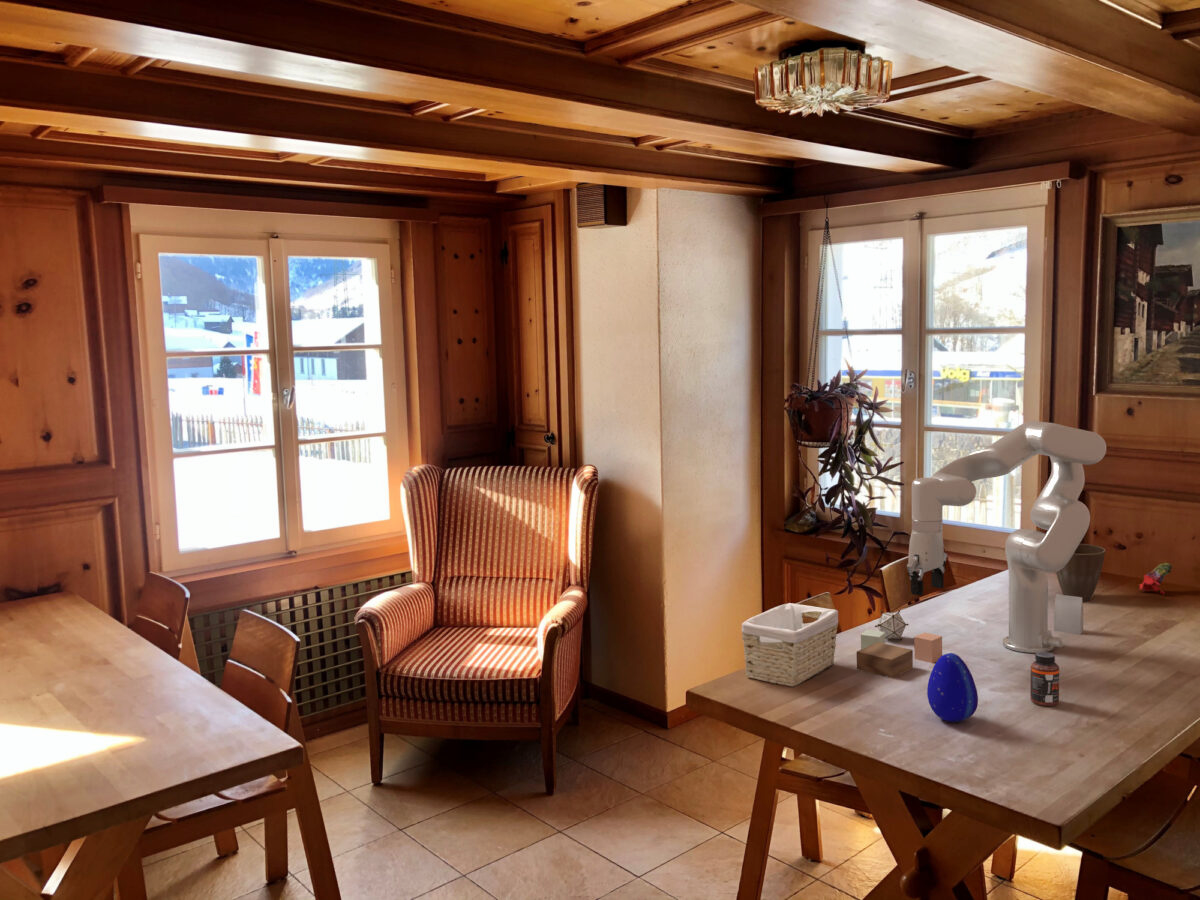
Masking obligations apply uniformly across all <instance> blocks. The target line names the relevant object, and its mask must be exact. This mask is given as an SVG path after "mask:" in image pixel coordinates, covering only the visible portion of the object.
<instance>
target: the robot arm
mask: <svg viewBox="0 0 1200 900" xmlns="http://www.w3.org/2000/svg"><path fill="white" fill-rule="evenodd" d="M1106 453H1107V444H1106V441H1105V439H1104V438H1103V436H1101V435H1100V434H1098V433H1097V432H1095V431H1090V430H1085V429H1080V428H1076V427H1072V426H1071V427H1070V426H1067V425H1063V424H1059V423H1054V422H1048V421H1046V422H1045V421H1036V420H1029V421H1026V422H1023V423H1021V424H1020V425H1018V426H1017V427H1015V428H1014V429H1012V430H1011V431H1009V432H1008V433H1006V434H1005V435H1004V436H1001V437H1000V438H999V439H998V440H996V441H995V442H992V444H990V445H989V446H987V447H985V448H981V449H979V450H976V451H974V452H972V453H970V454H967V455H964V456H961V457H959V458H957V459H954V460H953V461H950V462H949V463H947V464H945V465H944V466H943V467H941V468H940V469H938V470H937V471H936V472H935V473H933V474H932V475H931V476H930V477H918V478H915V479H913V481H912V483H911V532H910V533H911V534H910V537H909V543H908V544H909V546H908V563H907V565H906V569H907V574H908V576H909V580H910V593H911V595H914V596H920V597H921V596H923V595H924V580H922V579H923V577H924V574H925V573H926V572H930V571H931V574H930V575H931V576H930V577H931V582H930V583H931V584H930V585H931V587H932V588H937V589H943V588H944V584H945V583H944V573H945V568H946V565H947V564H946V563H947V562H946V561H947V557H948V554H947V553H946V552H945V548H944V547H945V545H944V538H943V537H944V536H943V530H944V529H943V526H944V525H943V524H944V523H943V512H944V511H943V508H944V507H943V506H946V507H947V506H951V507H965V506H967V505H969V504H971V503H972V502H973V501H974V500H975V498H976V496H977V488H976V486H975V484H974V482H975V481H978V480H983V479H990V478H997V477H1002V476H1006V475H1007V474H1009V473H1011V472H1013V471H1014V470H1015V469H1017V468H1018V467H1020V466H1021V465H1022V464H1024V463H1026V462H1027V461H1029V460H1030V459H1032V458H1033V457H1035V456H1036V455H1041V456H1048V457H1049V459H1050V462H1051V471H1050V472H1051V473H1050V476H1049V478H1048V480H1047V482H1046V484H1045V485H1044V487H1043V488H1042V490H1041V491H1040V494H1039V495H1038V496H1037V498H1036V500H1035V502H1034V504H1033V506H1032V508H1031V509H1030V513H1029V518H1030V520H1031V523H1033V525H1035V526H1036V527H1038V528H1040V529H1042V530H1046V533H1044V532H1042V531H1039V530H1034V529H1031V528H1019V529H1016V530H1014V531H1012V532H1011V533H1010V534H1009V535H1008V536H1007V538H1006V540H1005V545H1004V548H1005V551H1004V552H1005V556H1006V558H1005V559H1006V562H1007V569H1008V635H1007V636H1005V637H1004V638H1002V646H1004V647H1005V648H1006V649H1009V650H1012V651H1015V652H1020V653H1029V654H1030V653H1031V654H1036V653H1038V652H1048V653H1049V652H1051V651H1053V650H1054V647H1057V648H1062V646H1063V640H1062V639H1063V638H1062V637H1057V636H1053V635H1052V630H1051V629H1048V625H1049V624H1048V621H1049V619H1048V618H1049V617H1048V616H1049V615H1048V614H1049V608H1048V607H1049V606H1048V605H1049V600H1048V599H1049V582H1048V580H1049V579H1048V574H1047V573H1050V574H1051V573H1056V572H1057V571H1059V570H1061V569H1062V568H1064V567H1065V565H1066V564H1067V563H1068V562H1069V560H1070V559H1071V557H1072V555H1073V554H1074V552H1075V550H1076V549H1077V547H1078V545H1079V544H1081V542H1082V540H1083V539H1084V537H1085V535H1086V533H1087V531H1088V530H1089V527H1090V522H1091V514H1090V510H1089V509H1088V507H1087V506H1086V504H1084V503H1083V502H1082V501H1079V498H1080V495H1081V493H1082V491H1083V489H1084V486H1085V481H1086V480H1085V479H1086V477H1085V469H1084V467H1083V465H1085V466H1086V465H1087V466H1089V465H1094V464H1097V463H1099V462H1100V461H1102V460H1103V458H1104V457H1105V455H1106Z"/></svg>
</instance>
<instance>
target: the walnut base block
mask: <svg viewBox="0 0 1200 900" xmlns="http://www.w3.org/2000/svg"><path fill="white" fill-rule="evenodd" d="M913 661H914V650H913V649H909V648H906V647H901V646H897V645H891V644H888V643H885V644H884V643H879V642H877V643H875V644H873V645H870V646H868V647H866V648H863V649H861V648H860V649H859V650H857V651H856V670H857V669H859V670H858V671H861V670H862V671H861V672H865V671H866V672H865V673H869V672H870V673H869V674H874V675H877V674H878V676H881V675H882V677H884V678H885V677H886V676H887V677H886V678H889V679H893V678H895V677H898V676H900V675H901V673H902V674H903V672H904V673H906V672H907V671H910V670H911V669H913V668H914V662H913ZM905 671H906V672H905Z"/></svg>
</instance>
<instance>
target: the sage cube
mask: <svg viewBox="0 0 1200 900" xmlns="http://www.w3.org/2000/svg"><path fill="white" fill-rule="evenodd" d="M877 642H879V643H884V644H886V639H885V632H881V631H880V630H871V629H866V630H865V631H863V632H862V633H861V634H860V650H861V649H863V648H866V647H868V646H870V645H873V644H875V643H877Z"/></svg>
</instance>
